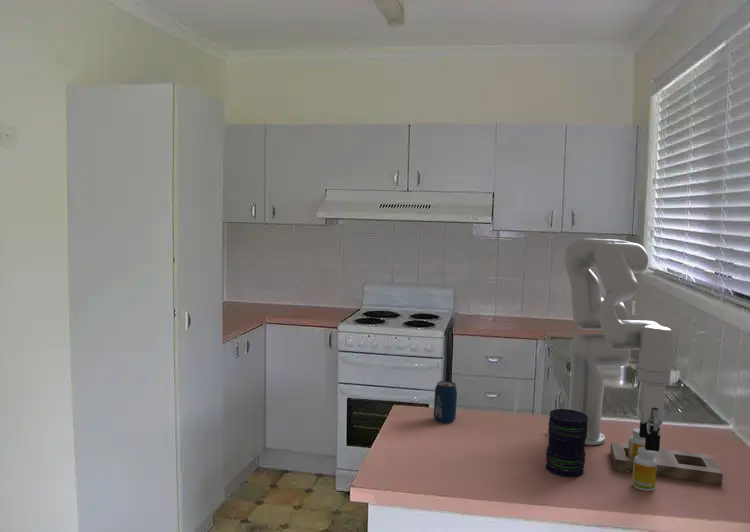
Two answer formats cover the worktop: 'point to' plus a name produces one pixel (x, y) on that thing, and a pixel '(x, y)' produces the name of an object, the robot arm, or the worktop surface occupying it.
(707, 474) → the bottle rack
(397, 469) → the worktop surface
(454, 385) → the soda can
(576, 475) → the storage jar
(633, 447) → the supplement bottle
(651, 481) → the supplement bottle
